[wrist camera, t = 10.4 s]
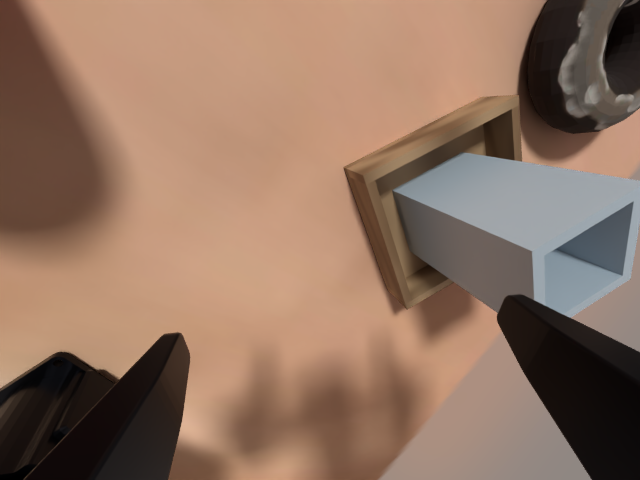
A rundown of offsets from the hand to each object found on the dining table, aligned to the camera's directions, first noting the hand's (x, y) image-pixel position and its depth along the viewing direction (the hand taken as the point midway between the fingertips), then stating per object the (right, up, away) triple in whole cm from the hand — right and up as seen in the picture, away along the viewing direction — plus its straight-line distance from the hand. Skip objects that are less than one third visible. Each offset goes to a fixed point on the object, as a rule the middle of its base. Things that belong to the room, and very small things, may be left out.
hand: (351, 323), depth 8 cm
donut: (+18, +17, +14) cm, 28 cm away
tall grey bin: (+8, +5, +14) cm, 17 cm away
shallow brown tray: (+8, +5, +15) cm, 17 cm away
